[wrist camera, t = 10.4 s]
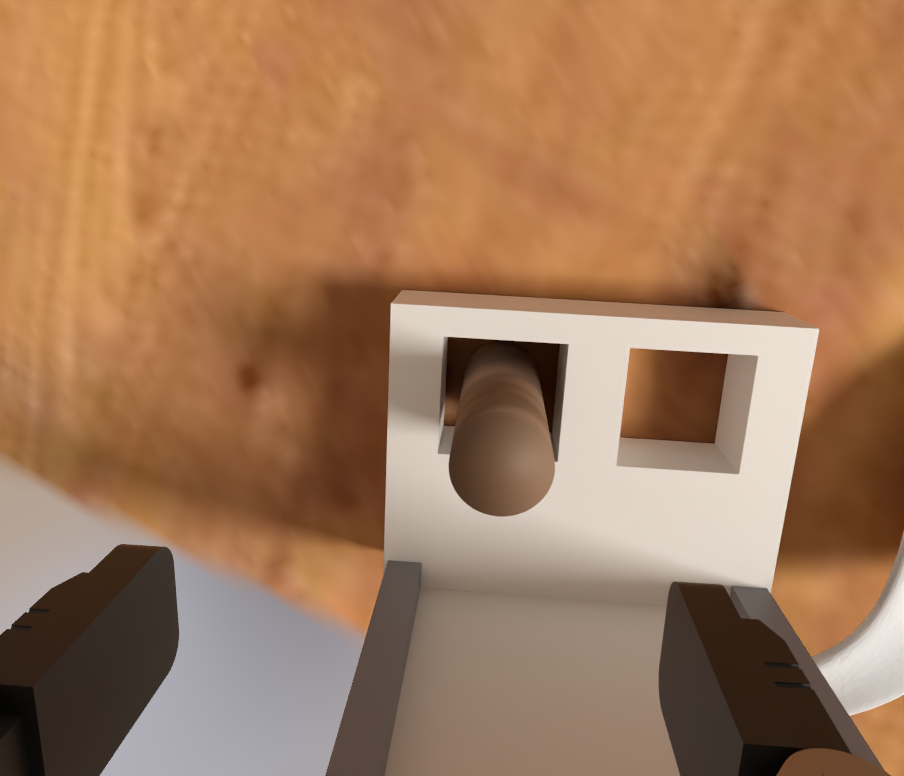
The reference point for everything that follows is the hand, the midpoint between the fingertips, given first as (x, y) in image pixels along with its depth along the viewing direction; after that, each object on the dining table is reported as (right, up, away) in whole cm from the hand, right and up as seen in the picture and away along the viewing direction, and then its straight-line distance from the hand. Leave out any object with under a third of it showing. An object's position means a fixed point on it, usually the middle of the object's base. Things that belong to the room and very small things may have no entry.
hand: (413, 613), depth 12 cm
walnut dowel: (+3, +4, +25) cm, 26 cm away
